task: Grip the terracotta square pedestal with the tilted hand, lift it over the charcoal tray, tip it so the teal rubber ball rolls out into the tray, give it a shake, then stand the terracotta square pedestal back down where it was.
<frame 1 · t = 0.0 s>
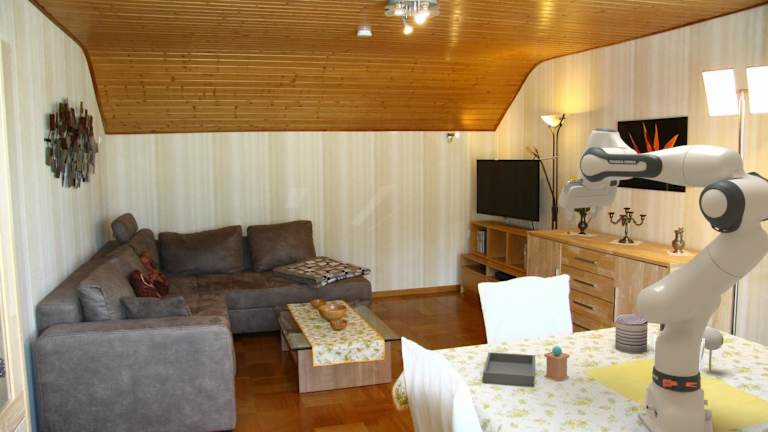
hand: (581, 218, 203), 52 cm above the table, tool tilted 20°, fingers open, 8 cm apart
charcoal tray: (510, 373, 212), on the table
terracotta square pedestal: (556, 377, 208), on the table, touching teal ball
lollipop: (709, 373, 209), on the table
teal ball: (556, 350, 207), point 9 cm above the table, touching terracotta square pedestal
coffee box: (671, 361, 221), on the table
can: (630, 349, 234), on the table
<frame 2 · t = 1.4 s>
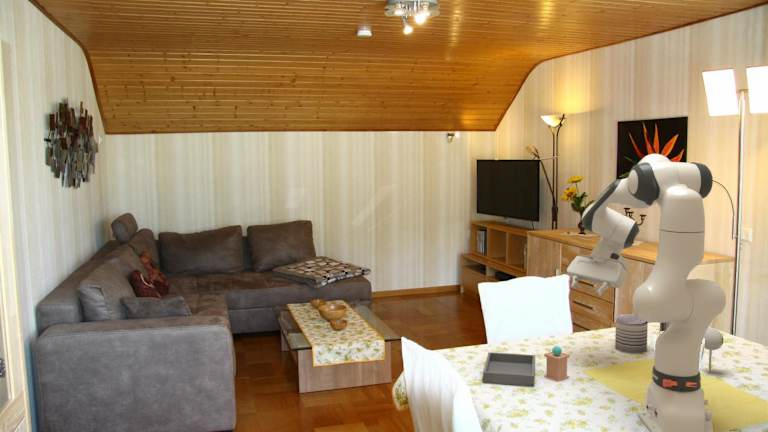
hand: (585, 290, 213), 26 cm above the table, tool tilted 45°, fingers open, 8 cm apart
nothing on the table moved.
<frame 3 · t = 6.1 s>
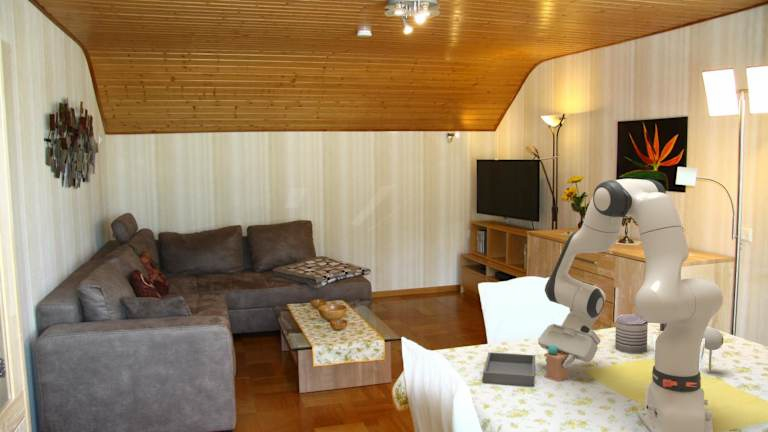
hand: (555, 364, 207), 4 cm above the table, tool tilted 45°, fingers closed on terracotta square pedestal, 5 cm apart
terracotta square pedestal: (556, 377, 208), on the table, touching gripper, teal ball
teal ball: (552, 349, 208), point 9 cm above the table, tilted 55°, touching terracotta square pedestal
everything else where it was.
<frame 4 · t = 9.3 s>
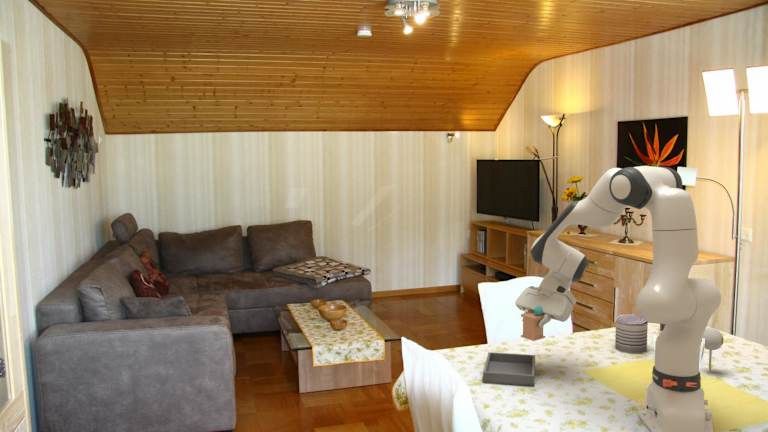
hand: (531, 324, 208), 17 cm above the table, tool tilted 45°, fingers closed on terracotta square pedestal, 5 cm apart
terracotta square pedestal: (532, 337, 209), point 13 cm above the table, touching gripper, teal ball
teal ball: (538, 310, 208), point 22 cm above the table, tilted 60°, touching terracotta square pedestal
everything else where it was.
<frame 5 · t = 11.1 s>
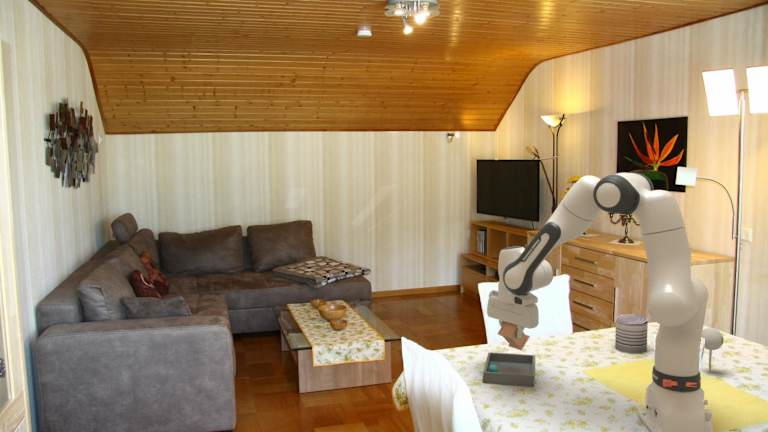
hand: (511, 335, 210), 13 cm above the table, tool pointing down, fingers closed on terracotta square pedestal, 5 cm apart
terracotta square pedestal: (519, 341, 213), point 10 cm above the table, tilted 45°, touching gripper
teal ball: (493, 369, 210), point 2 cm above the table, tilted 6°, touching charcoal tray
everything else where it was.
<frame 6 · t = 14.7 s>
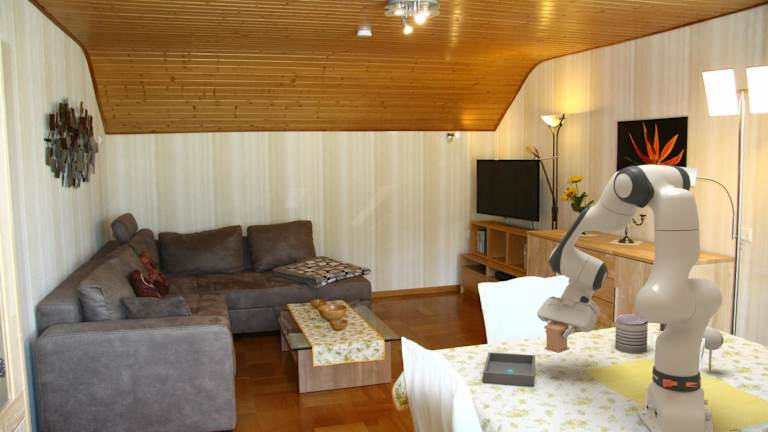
hand: (555, 335, 206), 14 cm above the table, tool tilted 45°, fingers closed on terracotta square pedestal, 5 cm apart
terracotta square pedestal: (556, 349, 207), point 9 cm above the table, touching gripper
teal ball: (509, 374, 205), point 2 cm above the table, tilted 108°, touching charcoal tray
everything else where it was.
when the fingers open (5 cm above the table, at t = 17.4 s): terracotta square pedestal moves 3 cm, on the table.
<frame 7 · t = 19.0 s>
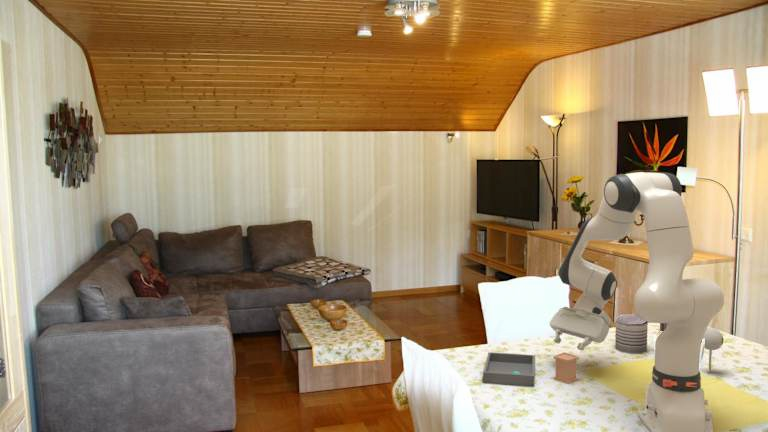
hand: (567, 345, 210), 9 cm above the table, tool tilted 45°, fingers open, 8 cm apart
terracotta square pedestal: (565, 379, 206), on the table
teal ball: (516, 376, 204), point 2 cm above the table, tilted 18°, touching charcoal tray
everything else where it was.
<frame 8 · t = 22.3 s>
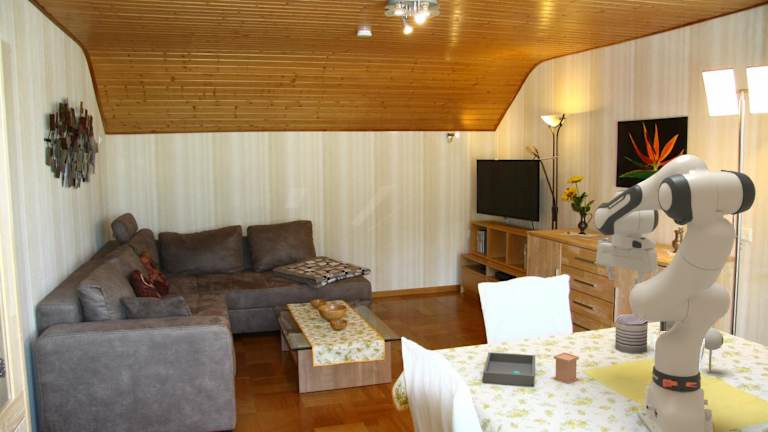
hand: (624, 282, 205), 31 cm above the table, tool pointing down, fingers open, 8 cm apart
teal ball: (516, 375, 204), point 2 cm above the table, tilted 28°, touching charcoal tray
everything else where it was.
at the end: teal ball inside the target area on the charcoal tray (7.4 cm from its centre), point 2.1 cm above the charcoal tray's base; terracotta square pedestal tilted 0°; terracotta square pedestal inside the target area (3.2 cm from its centre), on the table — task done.
